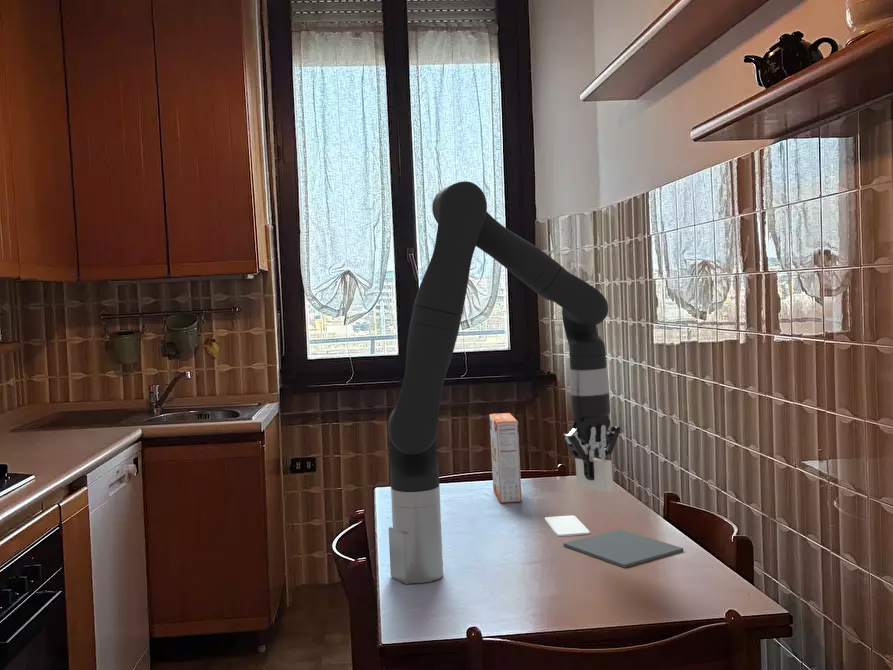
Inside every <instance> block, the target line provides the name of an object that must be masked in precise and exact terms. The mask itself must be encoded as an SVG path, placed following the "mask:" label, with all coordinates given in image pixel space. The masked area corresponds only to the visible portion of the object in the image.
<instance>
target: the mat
mask: <svg viewBox="0 0 893 670" xmlns="http://www.w3.org/2000/svg"><path fill="white" fill-rule="evenodd" d="M562 545H563V547H565V548H568V549H570V550H574V551H577V552H580V553H582V554H585V555H588V556H590V557H594V558H597V559H599V560H602V561H604V562H608V563H610V564H613V565H616V566H619V567H622V568H624V569H625V568H628V567H631V566H635V565H639V564H642V563H646V562H651V561H653V560H658V559H661V558H664V557H668V556H670V555H675V554H678V553H682V552H684V547H681V546H677V545H674V544H671V543H667V542H665V541H662V540H658V539H655V538H651V537H648V536H644V535H641V534H638V533H635V532H631V531H628V530H624V529H622V528H619V529H614V530H610V531H606V532H602V533H598V534H594V535H590V536H587V537H581V538H579V539H574V540H570V541H566V542H563V544H562Z"/></svg>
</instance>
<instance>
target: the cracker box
mask: <svg viewBox="0 0 893 670" xmlns="http://www.w3.org/2000/svg"><path fill="white" fill-rule="evenodd" d="M489 428H490V432H489V433H490V447H491V448H490V451H491V452H490V453H491V465H492V467H491V469H492V487H493V488H492V489H493V492H494V494H495V496H496V497H497V499H498V502H499V503H500V504H511V503H521V502H522V500H523V498H522V485H521V484H522V480H521V459H520V442H519V441H520V436H519V421H518V420H517V419H516V418H515V417H514V416H513V415H512V414H511V413H510V412H506V413H505V412H504V413H490V414H489Z"/></svg>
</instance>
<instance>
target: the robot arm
mask: <svg viewBox="0 0 893 670" xmlns="http://www.w3.org/2000/svg"><path fill="white" fill-rule="evenodd" d="M431 209H432V215H433V217H434V220H435V222H436V223H437V230H436V235H435V236H436V237H435V242H434V243H435V244H434V248H433V252H432V255H431V258H430V261H429V262H428V263H429V264H428V265H427V267H426V270H425V273H424V274H423V277H422V280H421V282H420V284H419V288H418V289H417V293H416V297H415V299H414V303H413V307H412V313H411V318H410V321H409V328H408V335H407V341H406V342H407V344H406V353H405V354H406V356H405V369H404V370H405V371H404V378H403V380H402V381H403V382H402V386H401V389H400V392H399V395H398V399H397V402H396V406H395V407H394V408H393V409H392V411H391V413H390V414H389V417H388V420H387V422H388V423H387V436H388V453H389V478H390V494H391V495H390V496H391V497H390V498H391V517H392V526H389V527H388V540H389V541H388V543H389V544H388V546H389V567H390V577H392V578H394V579H395V580H396V581H399V582H401V583H402V584H405V585H409V584H424V583H430V582H434V581H436V580H439V579H441V578H442V577H443V575H444V559H443V539H442V538H443V537H442V536H443V535H442V514H441V492H440V491H441V489H440V486H441V485H440V472H439V471H440V470H439V459H438V441H437V438H438V437H437V435H438V429H439V427H438V426H439V415H440V407H441V399H442V394H443V393H442V391H443V387H444V383H445V379H446V375H447V372H448V369H449V368H450V367H449V366H450V363H451V360H452V357H453V355H454V354H453V353H454V350H455V347H456V344H457V343H456V342H457V339H458V336H459V331H460V327H461V321H462V317H463V313H464V308H465V301H466V296H467V291H468V284H469V278H470V271H471V265H472V259H473V257H474V253H475V251H476V248H478V249H480V250H481V251H483V252H484V253H485V254H487V255H488V256H490V257H491V258H492V259H494V260H495V261H497V262H498V263H499V264H500V265H501V266H503V268H505V269H507V271H509V273H511V274H512V275H514V277H516V278H517V279H519V281H521V282H522V283H524V285H526V286H527V287H528V288H530V289H531V290H532V291H534V292H535V293H536V294H537V295H539V296H540V297H541V298H543V299H545V300H547V301H550V302H553V303H555V304H557V305H558V306H559V307H561V315H562V316H561V317H562V323H563V328H564V332H565V337H566V340H567V342H568V348H569V349H568V350H569V351H568V353H569V354H568V355H569V368H570V371H569V392H570V393H569V395H570V408H571V409H570V410H571V415H572V418H573V423H572V427H571V428H572V429H571V430H570V431H569V433H563V435H562V439H563V441H564V442H565V444H566V446H567V447H568V450H570V452H571V454H572V455H573V457H574V458H577V459H581V460H583V464H584V475H585V477H586V479H587V480H594V462H593V461H594V457H595V458H600V459H605V458H606V457H607V456H611V455H612V454H613V451H614V448H615V447H616V446H615V445H616V442H617V440H618V439H619V435H620V433H621V427H620V426H616V425H614V424H612V423H611V419H610V417H609V415H610V414H611V402H610V385H609V384H610V383H609V382H610V381H609V375H608V369H607V356H606V355H607V352H606V345H605V341H603V340H602V339H601V338H600V336H599V334H598V328H597V325H599V324H601V323H602V322H604V320H605V319H606V318H607V316H608V313H609V304H608V301H607V298H606V297H605V295H603V294H602V292H601V291H600V290H599V289H597V288H596V287H595V286H593V285H591V284H590V283H588V282H587V281H585V280H584V279H581V278H579V277H578V276H576V275H574V274H573V273H571V272H570V271H568V270H567V269H566V268H564V266H562V265H561V263H559V262H557V261H556V260H555V259H553V257H551V256H550V255H548V254H547V252H545V251H543V250H542V249H540V248H539V247H537V246H536V245H535V244H533V243H531V242H529V241H528V240H526V239H524V238H523V237H521V236H520V235H517V234H516V233H514V232H513V231H511V230H509V229H508V228H507V227H505V226H504V225H502V224H501V223H500V222H498V220H496V219H495V218H494V217H493V216H492V215H491V214H490V213H489V212H488V202H487V199H486V195H485V193H484V192H483V189H481V188H480V186H478V185H477V184H475V183H474V182H471V181H467V180H462V181H456V182H453V183H451V184H448V185H447V186H445V187H443V188H441V189H440V190H439V191H438V192H437V193H436V195H435V196H434V197H433V201H432V208H431ZM605 460H606V459H605Z"/></svg>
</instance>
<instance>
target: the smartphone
mask: <svg viewBox="0 0 893 670" xmlns="http://www.w3.org/2000/svg"><path fill="white" fill-rule="evenodd" d="M544 521H545V522H546V523H547V525H549V527H550V528H551V530H552V531H553V532H554V534H555V535H556V536H557V537H569V536H570V537H571V536H572V537H573V536H575V537H576V536H585V535H586V536H587V535H590V533H591V532H590V530H589V529H588V528H587V526H585V525H584V523H582V522H581V521H580V519H578V518H577V516H576V515H559V516H547V517H546V516H545V517H544Z"/></svg>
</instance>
